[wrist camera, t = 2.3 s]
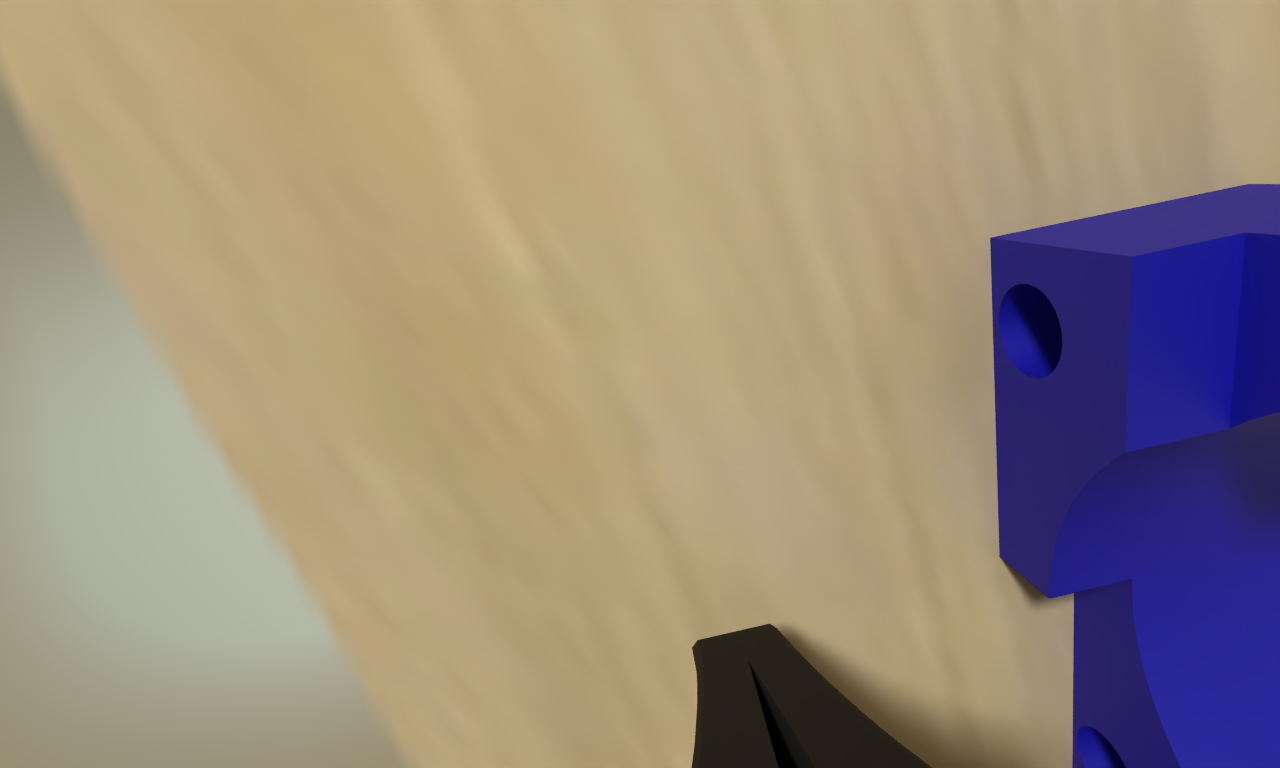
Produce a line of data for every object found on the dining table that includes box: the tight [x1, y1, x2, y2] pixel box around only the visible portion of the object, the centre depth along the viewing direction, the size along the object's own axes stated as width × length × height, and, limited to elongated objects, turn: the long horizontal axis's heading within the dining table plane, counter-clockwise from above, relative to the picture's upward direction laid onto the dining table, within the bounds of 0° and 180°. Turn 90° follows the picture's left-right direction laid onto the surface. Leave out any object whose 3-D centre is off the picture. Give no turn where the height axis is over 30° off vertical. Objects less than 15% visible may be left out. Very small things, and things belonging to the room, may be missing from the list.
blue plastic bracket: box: [990, 184, 1280, 768], centre depth 10 cm, size 12×4×6 cm, turn 11°
